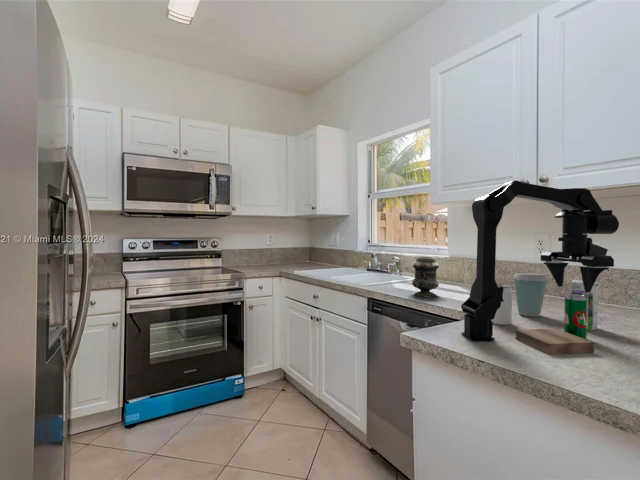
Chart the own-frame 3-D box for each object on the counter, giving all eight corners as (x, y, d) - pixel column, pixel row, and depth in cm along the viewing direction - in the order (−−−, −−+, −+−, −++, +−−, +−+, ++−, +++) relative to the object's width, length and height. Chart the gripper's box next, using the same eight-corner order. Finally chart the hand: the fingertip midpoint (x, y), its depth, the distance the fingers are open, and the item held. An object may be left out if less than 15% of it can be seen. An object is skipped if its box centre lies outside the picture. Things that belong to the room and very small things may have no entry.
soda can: (564, 334, 99) (565, 292, 99) (586, 337, 96) (587, 294, 95) (563, 338, 95) (563, 295, 95) (586, 342, 92) (587, 297, 92)
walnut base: (548, 354, 83) (548, 343, 83) (515, 338, 95) (515, 329, 95) (593, 352, 84) (594, 342, 84) (555, 337, 96) (555, 328, 96)
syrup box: (569, 327, 106) (569, 280, 106) (576, 324, 109) (576, 279, 109) (591, 331, 101) (592, 282, 101) (598, 328, 105) (599, 281, 104)
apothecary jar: (435, 298, 151) (436, 258, 151) (408, 296, 157) (409, 257, 157) (441, 294, 162) (441, 256, 161) (415, 292, 168) (415, 255, 167)
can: (484, 321, 113) (485, 285, 113) (498, 319, 116) (499, 284, 115) (502, 326, 107) (502, 288, 107) (516, 324, 110) (516, 287, 109)
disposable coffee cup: (505, 312, 125) (506, 271, 125) (527, 310, 129) (527, 270, 128) (532, 319, 115) (533, 275, 115) (554, 316, 119) (555, 273, 118)
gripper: (634, 234, 88) (632, 294, 88) (572, 233, 106) (571, 283, 107) (594, 234, 86) (593, 295, 87) (539, 233, 105) (538, 284, 105)
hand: (573, 289), depth 96 cm, fingers open, 9 cm apart
